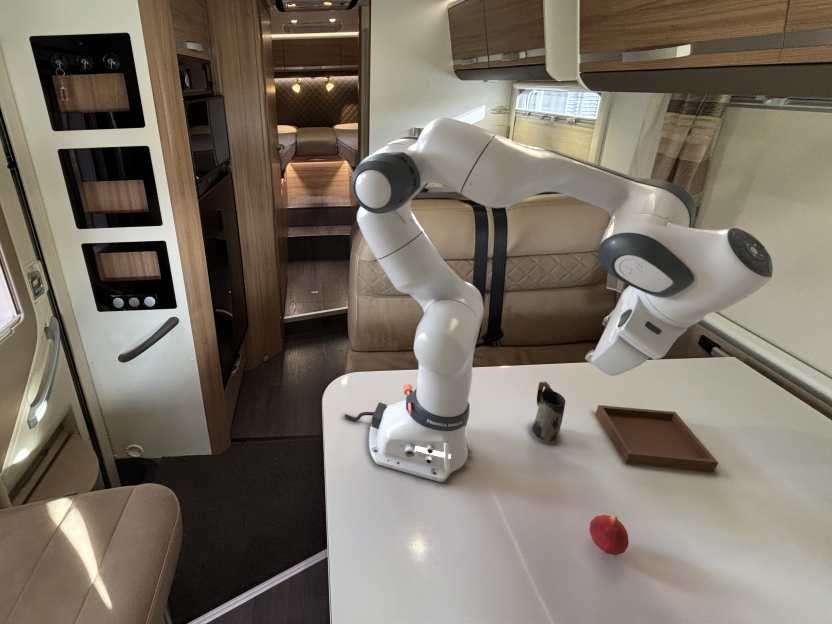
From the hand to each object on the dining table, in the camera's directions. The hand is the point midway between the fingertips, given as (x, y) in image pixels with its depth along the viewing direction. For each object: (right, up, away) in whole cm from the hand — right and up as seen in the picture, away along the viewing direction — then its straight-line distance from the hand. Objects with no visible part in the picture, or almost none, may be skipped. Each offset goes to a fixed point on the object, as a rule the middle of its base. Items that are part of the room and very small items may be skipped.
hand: (598, 341), depth 78 cm
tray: (+27, -29, +22) cm, 45 cm away
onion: (+1, -38, 0) cm, 38 cm away
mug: (+3, -28, +25) cm, 38 cm away
